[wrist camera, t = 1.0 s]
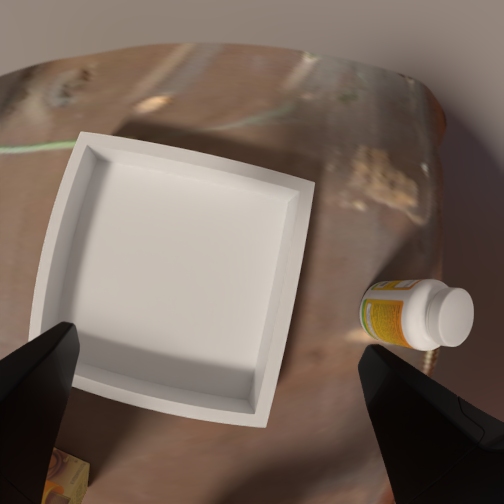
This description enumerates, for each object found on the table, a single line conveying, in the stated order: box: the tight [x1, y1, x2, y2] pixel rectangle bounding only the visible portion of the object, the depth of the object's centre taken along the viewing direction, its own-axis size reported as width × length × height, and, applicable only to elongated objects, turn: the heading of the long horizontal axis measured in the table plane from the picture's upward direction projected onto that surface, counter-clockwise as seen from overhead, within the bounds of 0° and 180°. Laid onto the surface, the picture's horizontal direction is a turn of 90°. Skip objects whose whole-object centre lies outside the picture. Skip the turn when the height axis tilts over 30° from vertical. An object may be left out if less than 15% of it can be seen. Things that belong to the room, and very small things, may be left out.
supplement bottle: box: [360, 279, 474, 351], centre depth 21 cm, size 5×5×10 cm
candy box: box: [41, 447, 90, 504], centre depth 11 cm, size 9×4×15 cm, turn 73°
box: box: [28, 132, 315, 428], centre depth 21 cm, size 18×18×4 cm
